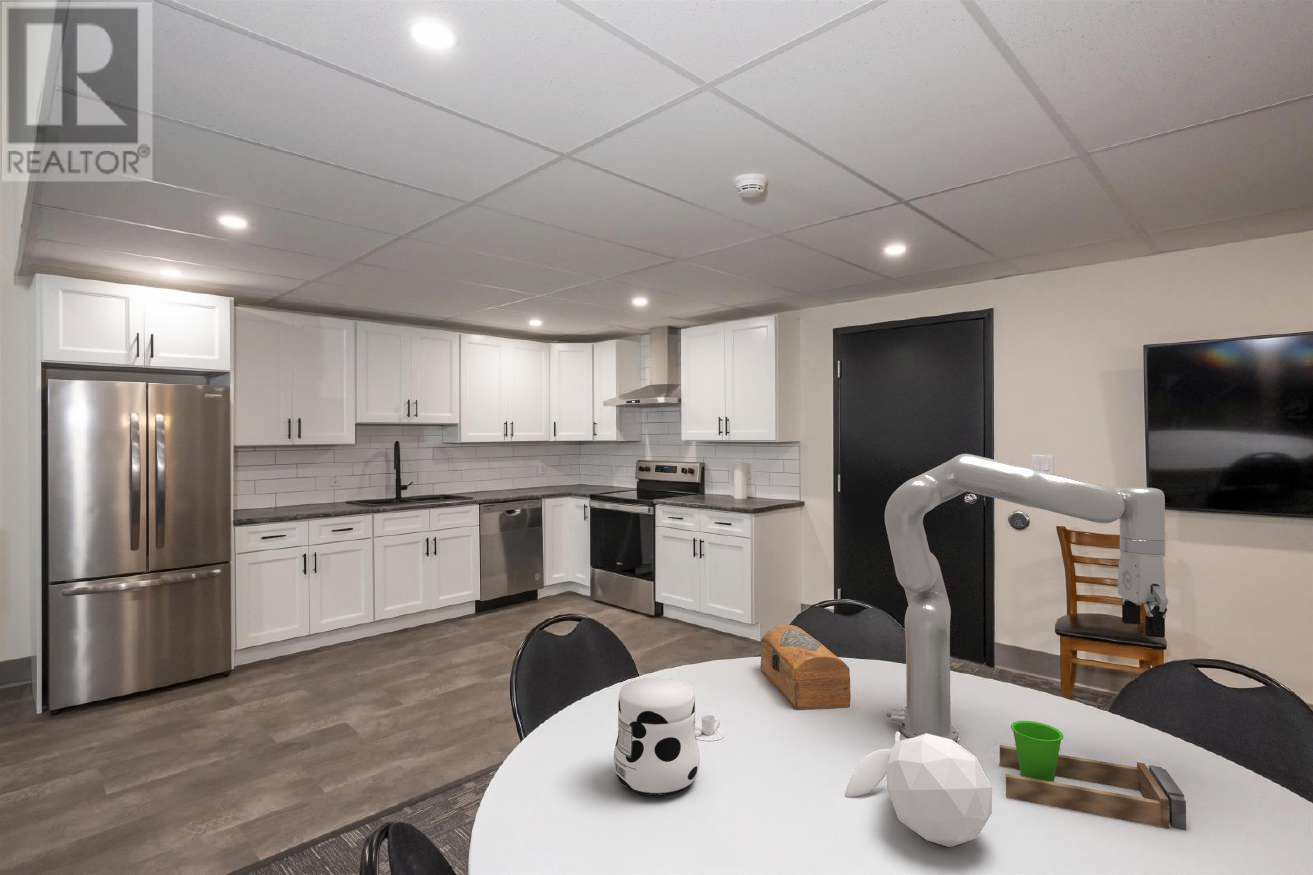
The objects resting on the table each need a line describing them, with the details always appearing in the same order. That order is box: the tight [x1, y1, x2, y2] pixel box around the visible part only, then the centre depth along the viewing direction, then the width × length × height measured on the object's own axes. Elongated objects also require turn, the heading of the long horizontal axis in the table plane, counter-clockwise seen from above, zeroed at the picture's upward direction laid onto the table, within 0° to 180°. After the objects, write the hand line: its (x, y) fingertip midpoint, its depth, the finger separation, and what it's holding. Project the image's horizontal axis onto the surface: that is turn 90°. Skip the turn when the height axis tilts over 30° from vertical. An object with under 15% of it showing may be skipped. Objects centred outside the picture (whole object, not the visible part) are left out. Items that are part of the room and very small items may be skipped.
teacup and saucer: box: [695, 714, 726, 742], centre depth 151 cm, size 9×8×4 cm
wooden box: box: [760, 624, 852, 711], centre depth 180 cm, size 30×16×14 cm, turn 7°
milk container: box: [613, 677, 701, 796], centre depth 130 cm, size 17×17×18 cm
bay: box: [999, 744, 1187, 831], centre depth 124 cm, size 28×14×5 cm, turn 67°
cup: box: [1010, 720, 1065, 782], centre depth 127 cm, size 9×9×11 cm
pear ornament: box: [844, 731, 993, 848], centre depth 116 cm, size 16×22×28 cm
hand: (1142, 629), depth 133 cm, fingers open, 9 cm apart
